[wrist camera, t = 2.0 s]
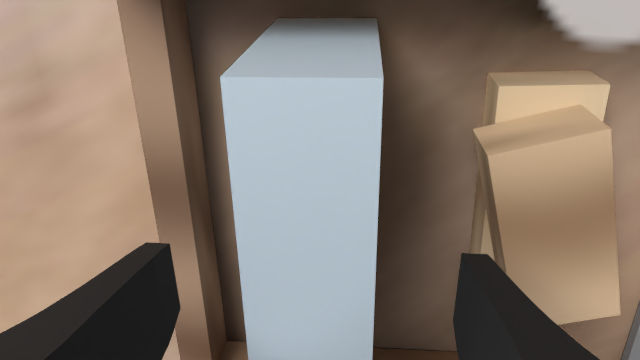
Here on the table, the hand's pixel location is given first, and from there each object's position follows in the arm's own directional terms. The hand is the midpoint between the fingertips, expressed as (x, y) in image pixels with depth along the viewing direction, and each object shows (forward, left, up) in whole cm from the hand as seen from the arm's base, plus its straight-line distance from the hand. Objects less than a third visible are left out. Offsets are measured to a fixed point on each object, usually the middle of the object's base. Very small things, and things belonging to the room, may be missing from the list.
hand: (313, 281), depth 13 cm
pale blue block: (0, 0, -6) cm, 6 cm away
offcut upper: (0, -7, -4) cm, 8 cm away
